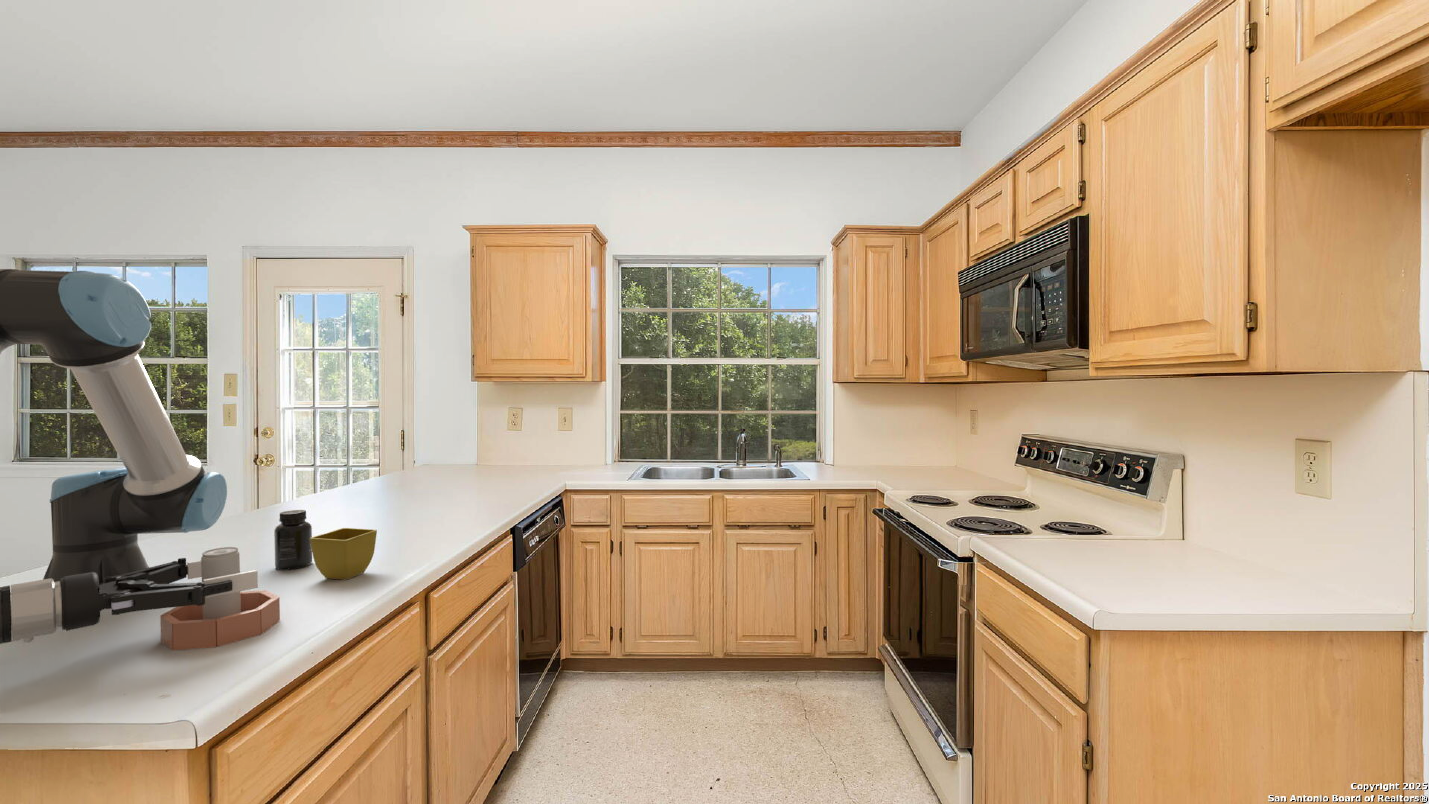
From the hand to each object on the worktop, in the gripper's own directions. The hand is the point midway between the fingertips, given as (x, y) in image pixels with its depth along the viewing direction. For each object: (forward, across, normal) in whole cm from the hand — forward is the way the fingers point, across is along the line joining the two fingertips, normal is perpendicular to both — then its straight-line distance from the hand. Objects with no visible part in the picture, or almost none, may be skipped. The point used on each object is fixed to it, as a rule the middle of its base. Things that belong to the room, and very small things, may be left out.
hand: (246, 570), depth 101 cm
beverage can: (-3, 0, -8) cm, 9 cm away
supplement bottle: (+15, -33, -9) cm, 37 cm away
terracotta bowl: (-3, 0, -9) cm, 10 cm away
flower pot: (+20, -16, -9) cm, 27 cm away
